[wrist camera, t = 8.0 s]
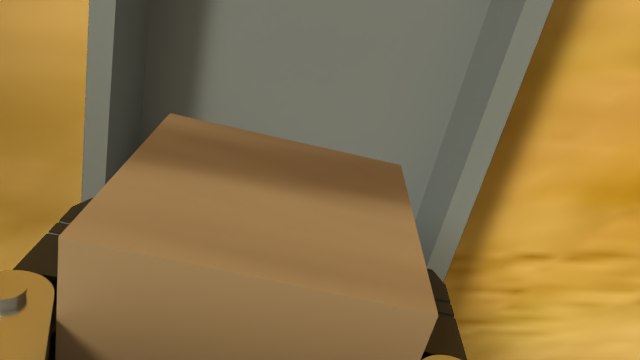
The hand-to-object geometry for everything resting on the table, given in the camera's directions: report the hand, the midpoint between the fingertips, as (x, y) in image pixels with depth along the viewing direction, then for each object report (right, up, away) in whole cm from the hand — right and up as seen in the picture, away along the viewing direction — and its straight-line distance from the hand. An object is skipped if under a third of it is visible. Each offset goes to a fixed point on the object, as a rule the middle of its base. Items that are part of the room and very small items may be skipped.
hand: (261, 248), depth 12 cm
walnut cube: (0, 0, 0) cm, 0 cm away
